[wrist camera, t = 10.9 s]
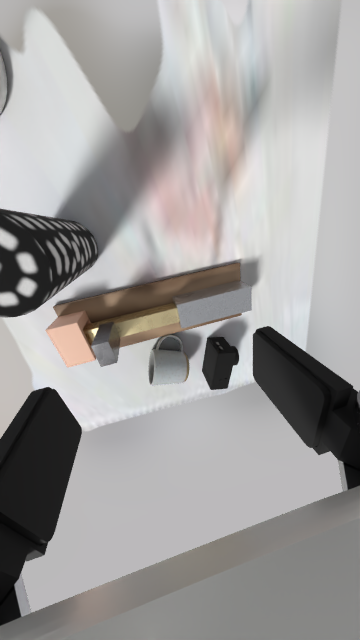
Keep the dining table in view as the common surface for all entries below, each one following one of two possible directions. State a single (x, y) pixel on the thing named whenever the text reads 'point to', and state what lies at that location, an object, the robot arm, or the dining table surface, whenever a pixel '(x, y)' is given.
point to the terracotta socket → (71, 338)
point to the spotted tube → (39, 259)
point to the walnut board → (150, 300)
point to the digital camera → (219, 362)
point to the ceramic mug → (168, 365)
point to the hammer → (125, 330)
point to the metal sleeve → (213, 303)
